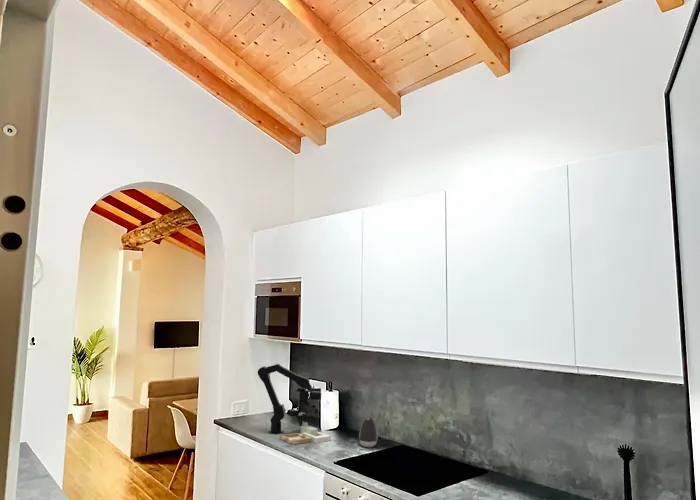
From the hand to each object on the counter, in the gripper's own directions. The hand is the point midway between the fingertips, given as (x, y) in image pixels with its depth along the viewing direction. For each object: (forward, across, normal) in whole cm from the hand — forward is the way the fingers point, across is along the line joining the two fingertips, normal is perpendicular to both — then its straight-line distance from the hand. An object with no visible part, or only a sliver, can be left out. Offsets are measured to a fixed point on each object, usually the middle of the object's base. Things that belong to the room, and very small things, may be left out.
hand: (302, 426), depth 300 cm
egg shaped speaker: (+4, +16, -40) cm, 44 cm away
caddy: (+4, 0, -6) cm, 7 cm away
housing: (+4, 0, -13) cm, 14 cm away
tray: (+4, -12, -12) cm, 17 cm away
